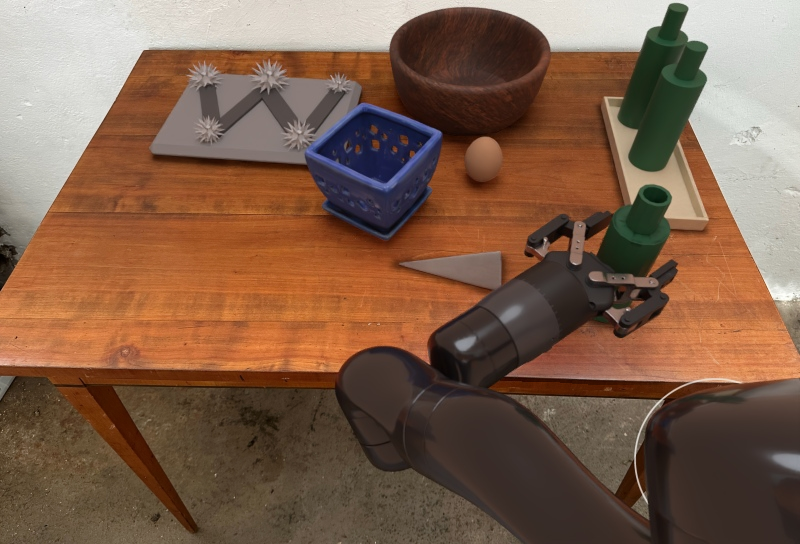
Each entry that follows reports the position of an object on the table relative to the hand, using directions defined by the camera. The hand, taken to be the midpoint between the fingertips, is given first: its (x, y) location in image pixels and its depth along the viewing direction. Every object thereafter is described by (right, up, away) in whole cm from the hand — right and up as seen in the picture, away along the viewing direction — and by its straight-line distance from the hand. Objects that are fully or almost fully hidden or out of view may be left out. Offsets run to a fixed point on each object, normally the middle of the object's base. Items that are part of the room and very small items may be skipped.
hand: (639, 241), depth 58 cm
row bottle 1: (+12, +21, +29) cm, 39 cm away
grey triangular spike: (-19, -4, +11) cm, 22 cm away
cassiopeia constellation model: (-48, +21, +31) cm, 61 cm away
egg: (-14, +10, +22) cm, 28 cm away
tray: (+12, +13, +24) cm, 29 cm away
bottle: (-1, -7, +8) cm, 11 cm away
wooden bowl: (-15, +26, +34) cm, 45 cm away
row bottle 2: (+12, +14, +23) cm, 29 cm away
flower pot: (-29, +5, +18) cm, 34 cm away
